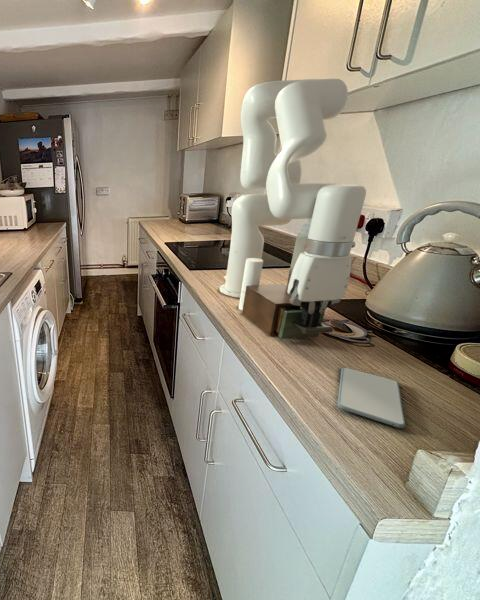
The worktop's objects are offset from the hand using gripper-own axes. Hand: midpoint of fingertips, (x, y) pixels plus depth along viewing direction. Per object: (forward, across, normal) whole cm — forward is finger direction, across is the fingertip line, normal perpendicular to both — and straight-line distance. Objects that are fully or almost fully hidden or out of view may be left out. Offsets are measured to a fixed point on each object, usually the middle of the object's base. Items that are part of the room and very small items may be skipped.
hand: (308, 327), depth 72 cm
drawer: (+4, 0, -5) cm, 6 cm away
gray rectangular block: (+3, 0, -8) cm, 8 cm away
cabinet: (+4, 0, -12) cm, 13 cm away
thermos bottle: (+5, -10, -17) cm, 20 cm away
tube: (+5, +2, -22) cm, 22 cm away
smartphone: (+5, +2, +19) cm, 19 cm away
